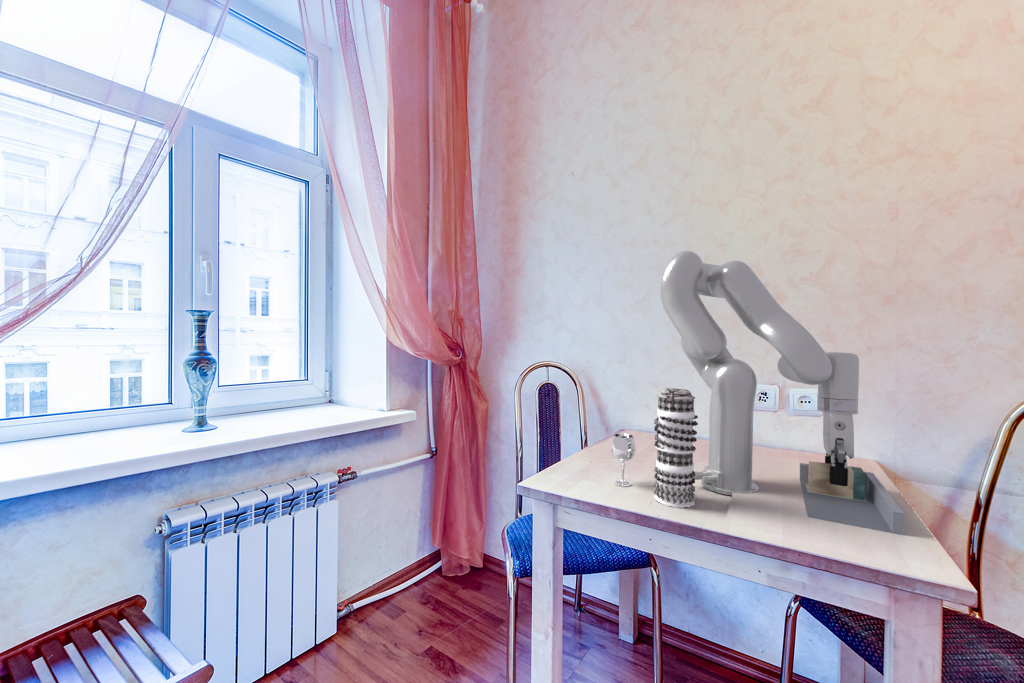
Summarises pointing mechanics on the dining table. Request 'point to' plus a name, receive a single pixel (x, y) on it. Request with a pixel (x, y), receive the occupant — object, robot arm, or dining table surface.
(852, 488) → the oak block
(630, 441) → the wineglass
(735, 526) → the dining table surface
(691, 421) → the decorative candle
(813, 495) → the tray
